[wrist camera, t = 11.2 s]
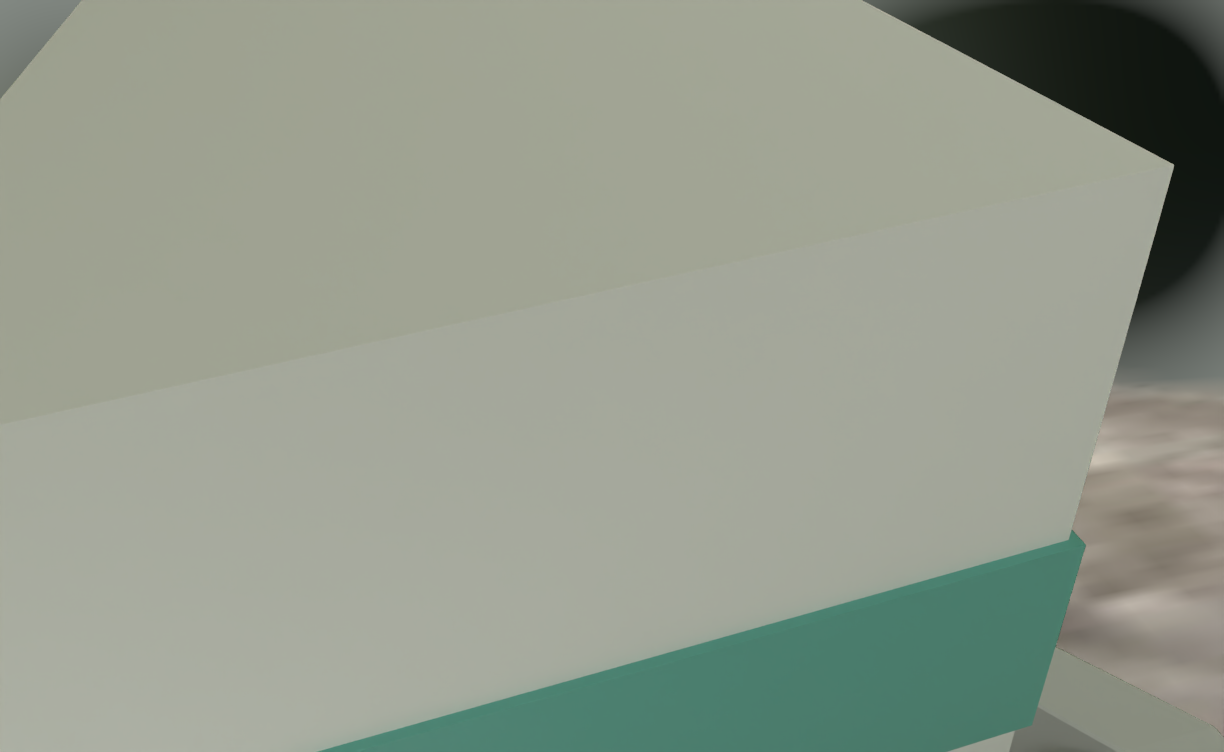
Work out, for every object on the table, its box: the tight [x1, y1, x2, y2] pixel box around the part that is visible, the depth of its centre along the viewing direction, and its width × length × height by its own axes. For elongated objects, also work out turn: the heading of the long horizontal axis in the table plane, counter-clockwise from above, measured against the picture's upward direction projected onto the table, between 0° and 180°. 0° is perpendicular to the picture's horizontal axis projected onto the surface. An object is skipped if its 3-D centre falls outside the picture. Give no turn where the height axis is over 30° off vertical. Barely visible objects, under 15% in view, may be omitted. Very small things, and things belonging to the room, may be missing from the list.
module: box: [0, 0, 1174, 752], centre depth 10 cm, size 7×5×14 cm
